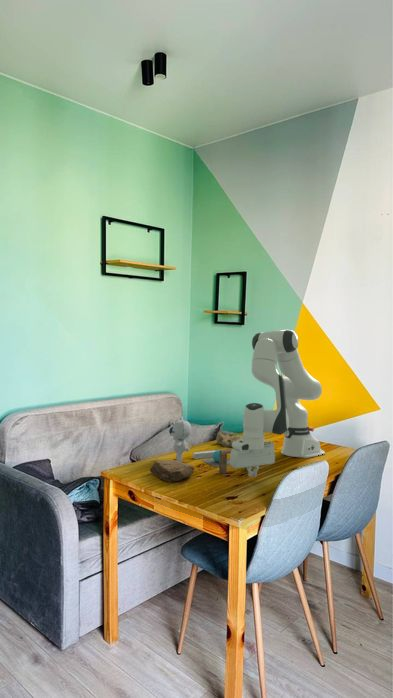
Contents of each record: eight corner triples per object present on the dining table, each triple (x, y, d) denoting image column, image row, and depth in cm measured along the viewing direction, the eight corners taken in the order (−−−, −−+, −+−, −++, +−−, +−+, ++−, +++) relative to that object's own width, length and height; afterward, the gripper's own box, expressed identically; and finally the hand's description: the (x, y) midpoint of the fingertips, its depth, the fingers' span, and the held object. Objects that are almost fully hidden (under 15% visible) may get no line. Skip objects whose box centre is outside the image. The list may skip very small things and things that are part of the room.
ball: (225, 446, 221) (229, 458, 218) (220, 453, 225) (224, 464, 222) (213, 447, 218) (218, 459, 215) (209, 454, 222) (213, 465, 219)
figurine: (224, 430, 264) (256, 435, 253) (223, 444, 264) (255, 449, 252) (213, 431, 255) (245, 436, 243) (211, 445, 254) (244, 450, 242)
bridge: (219, 472, 205) (219, 450, 205) (248, 468, 212) (248, 447, 211) (222, 474, 202) (222, 451, 202) (251, 470, 209) (252, 448, 209)
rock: (202, 467, 198) (182, 469, 186) (199, 484, 198) (178, 487, 185) (166, 455, 209) (144, 456, 197) (163, 471, 209) (141, 473, 196)
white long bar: (221, 454, 235) (222, 449, 235) (224, 455, 232) (224, 450, 232) (193, 457, 228) (193, 452, 228) (195, 459, 225) (195, 453, 225)
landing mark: (223, 457, 229) (223, 457, 229) (236, 464, 218) (236, 463, 218) (201, 460, 224) (201, 459, 224) (213, 466, 213) (213, 466, 213)
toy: (168, 456, 230) (169, 415, 229) (189, 456, 231) (190, 415, 230) (169, 465, 213) (170, 422, 212) (192, 465, 214) (193, 422, 213)
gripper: (269, 439, 202) (268, 471, 202) (228, 443, 193) (227, 476, 193) (278, 442, 196) (277, 475, 197) (236, 447, 187) (235, 481, 188)
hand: (252, 476), depth 195 cm, fingers closed
